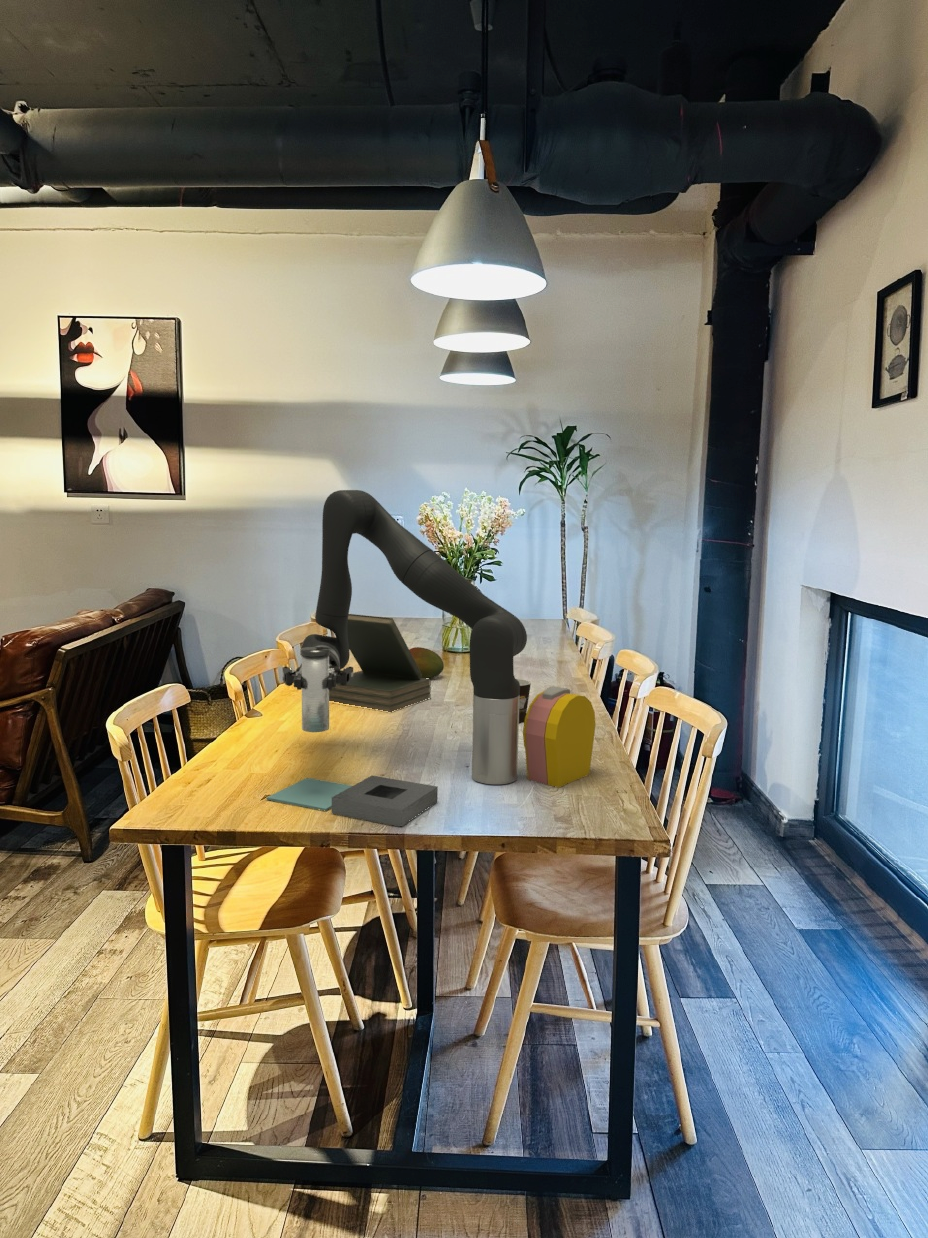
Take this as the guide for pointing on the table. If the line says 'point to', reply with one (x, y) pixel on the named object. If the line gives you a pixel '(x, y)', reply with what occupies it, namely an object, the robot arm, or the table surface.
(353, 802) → the collar block
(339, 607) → the robot arm
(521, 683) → the coffee mug
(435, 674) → the fruit
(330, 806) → the rubber mat
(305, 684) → the tumbler with black lid
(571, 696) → the yellow and pink lunchbox
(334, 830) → the table surface
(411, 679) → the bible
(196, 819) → the table surface
